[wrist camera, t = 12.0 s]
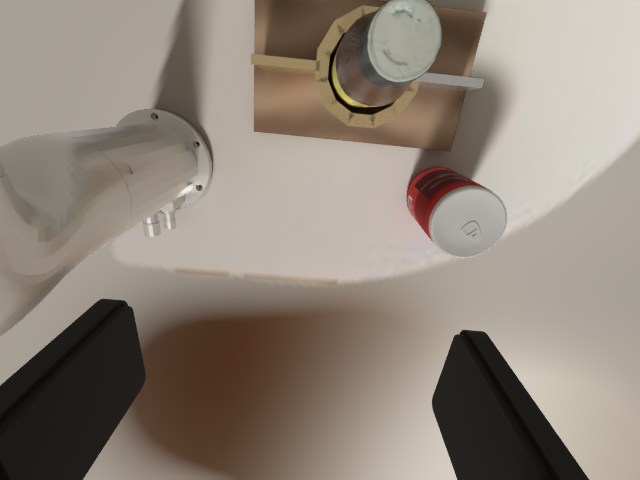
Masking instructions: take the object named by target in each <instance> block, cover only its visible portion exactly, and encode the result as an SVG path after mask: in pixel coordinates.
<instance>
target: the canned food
mask: <svg viewBox="0 0 640 480" xmlns="http://www.w3.org/2000/svg"><path fill="white" fill-rule="evenodd" d="M407 206H408V209H409V211H410V213H411V214H412V216H413V217H414V218H415V219H416V221H417V222H418V223H419V225H420V226H421V227H422V229H423V230H424V231H425V233H426V234H427V235H428V236H429V238H430V239H431V240H432V241H433V243H434V244H435V245H436V246H437V247H438V248H439V249H440V250H441V251H443V252H444V253H446V254H448V255H450V256H453V257H458V258H469V257H474V256H477V255H480V254H482V253H484V252H486V251H488V250H489V249H490V248H492V247H493V246H494V245H495V244H496V243H497V242H498V241H499V239H500V238H501V236H502V234H503V232H504V230H505V227H506V222H507V213H506V208H505V206H504V204H503V202H502V201H501V199H500V198H499V197H498V196H497V195H496V194H494V193H493V192H492V191H491V190H489V189H487V188H485V187H483V186H481V185H480V184H478V183H476V182H474V181H472V180H470V179H468V178H466V177H464V176H462V175H460V174H458V173H456V172H454V171H452V170H450V169H447V168H431V169H428V170H426V171H423V172H422V173H420V174H419V175H418V176H416V177H415V178H414V180H413V181H412V182H411V184H410V186H409V188H408V192H407Z"/></svg>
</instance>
